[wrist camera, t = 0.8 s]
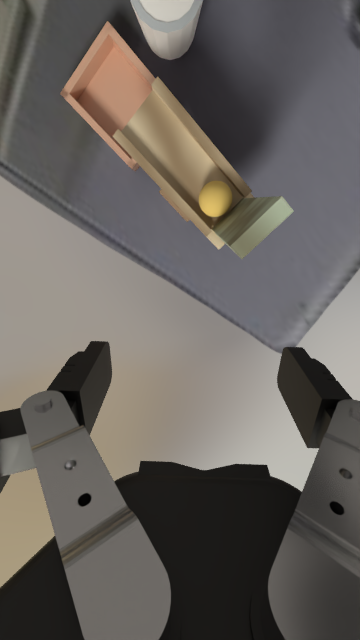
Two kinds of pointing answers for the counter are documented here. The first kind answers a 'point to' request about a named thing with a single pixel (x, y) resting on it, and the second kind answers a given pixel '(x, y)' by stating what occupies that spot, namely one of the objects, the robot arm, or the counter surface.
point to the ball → (215, 198)
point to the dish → (109, 88)
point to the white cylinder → (168, 24)
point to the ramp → (196, 172)
